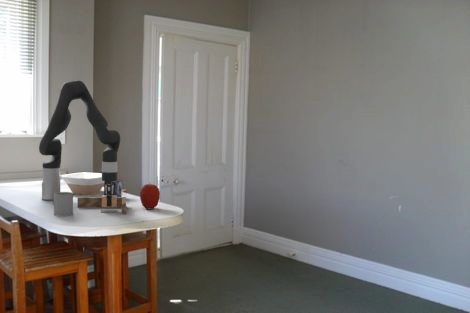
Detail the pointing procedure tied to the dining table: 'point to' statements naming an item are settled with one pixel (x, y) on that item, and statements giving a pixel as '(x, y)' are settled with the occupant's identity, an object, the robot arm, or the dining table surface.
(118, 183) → the small box
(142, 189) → the apple
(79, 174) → the bowl
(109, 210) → the pad
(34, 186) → the dining table surface
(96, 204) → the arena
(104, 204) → the block
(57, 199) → the cup
